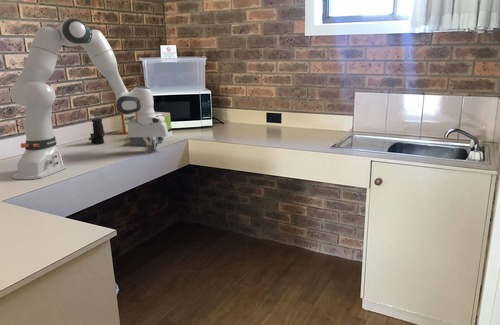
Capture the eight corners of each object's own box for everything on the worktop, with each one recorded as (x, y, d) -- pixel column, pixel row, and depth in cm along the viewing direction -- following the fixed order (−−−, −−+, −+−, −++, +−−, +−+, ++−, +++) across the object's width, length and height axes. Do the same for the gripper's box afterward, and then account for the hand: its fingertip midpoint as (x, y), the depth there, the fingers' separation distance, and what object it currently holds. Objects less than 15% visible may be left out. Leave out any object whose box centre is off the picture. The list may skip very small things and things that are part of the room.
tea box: (141, 138, 239) (138, 113, 235) (153, 135, 247) (150, 111, 243) (161, 140, 232) (159, 114, 228) (172, 136, 240) (170, 111, 236)
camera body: (159, 145, 220) (157, 132, 218) (131, 145, 223) (129, 132, 221) (166, 140, 232) (165, 127, 230) (139, 140, 234) (138, 128, 232)
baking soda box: (124, 134, 253) (120, 108, 249) (123, 132, 259) (119, 107, 255) (139, 132, 257) (136, 107, 252) (138, 131, 263) (135, 106, 258)
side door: (157, 144, 221) (156, 135, 219) (157, 150, 208) (156, 140, 207) (153, 145, 220) (152, 135, 219) (153, 150, 208) (152, 140, 207)
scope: (98, 117, 235) (107, 118, 228) (101, 140, 238) (110, 142, 232) (84, 119, 229) (93, 121, 222) (88, 143, 233) (97, 145, 226)
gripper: (124, 120, 204) (127, 147, 208) (163, 119, 201) (166, 146, 205) (129, 118, 210) (132, 144, 214) (167, 117, 207) (170, 143, 211)
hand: (149, 145), depth 210 cm, fingers closed
